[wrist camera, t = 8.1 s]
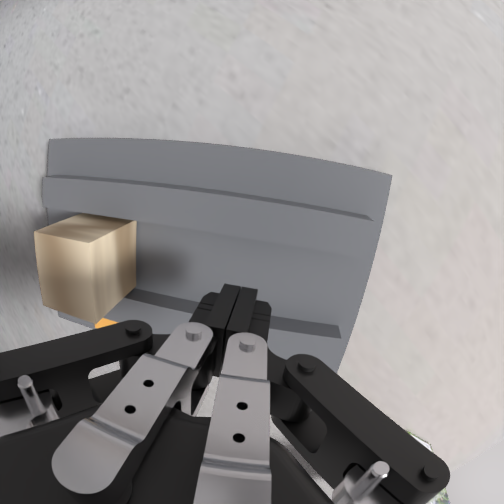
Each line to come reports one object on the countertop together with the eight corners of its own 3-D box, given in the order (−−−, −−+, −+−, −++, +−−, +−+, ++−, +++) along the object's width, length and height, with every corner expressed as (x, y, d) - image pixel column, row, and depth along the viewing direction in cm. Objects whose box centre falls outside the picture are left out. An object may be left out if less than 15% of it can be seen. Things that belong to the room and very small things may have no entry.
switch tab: (136, 219, 17) (89, 243, 13) (136, 285, 19) (96, 324, 14) (85, 211, 18) (33, 231, 13) (87, 274, 19) (43, 305, 14)
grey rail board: (384, 173, 16) (401, 177, 14) (332, 367, 21) (336, 394, 18) (62, 138, 18) (35, 139, 15) (68, 308, 22) (48, 325, 20)
